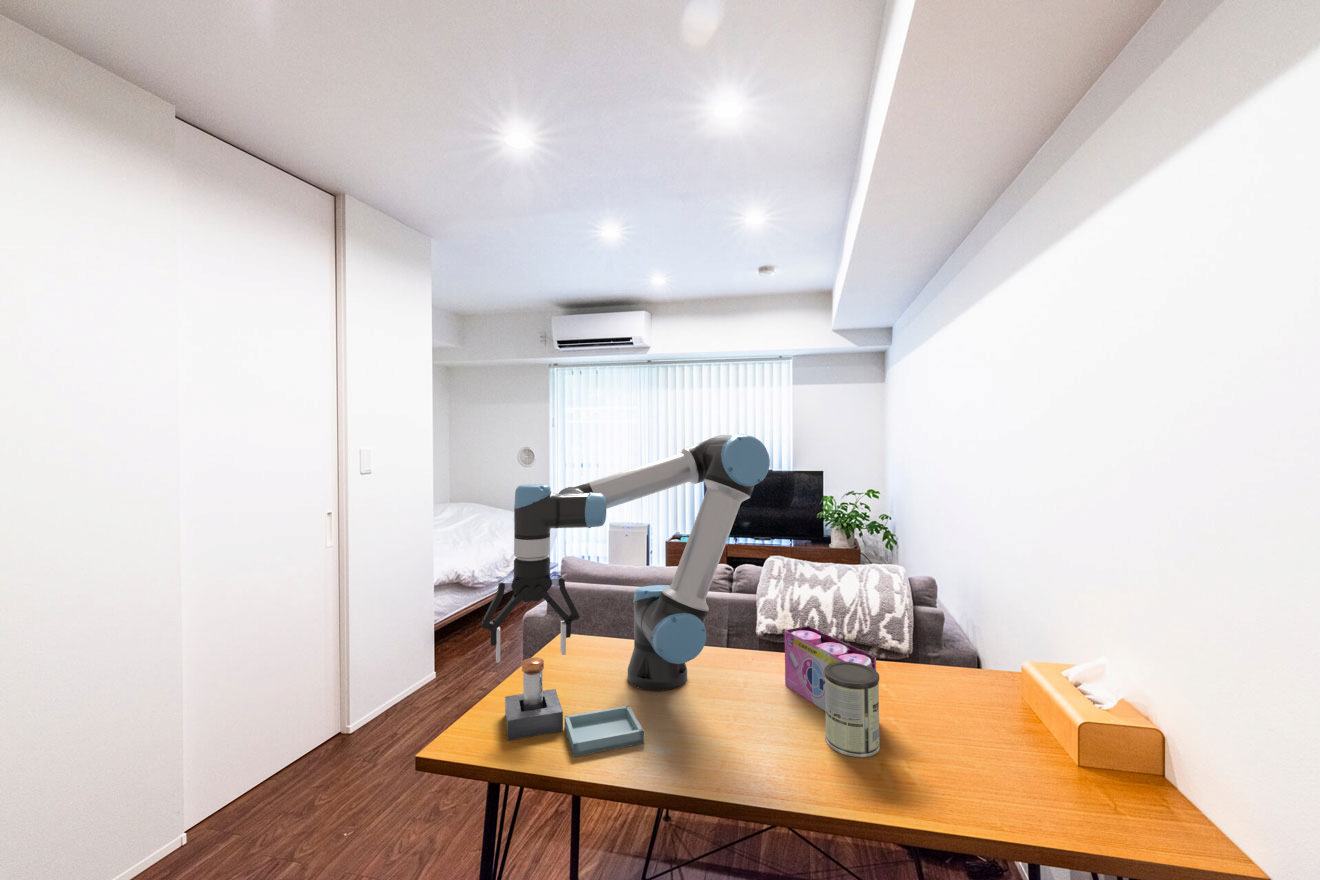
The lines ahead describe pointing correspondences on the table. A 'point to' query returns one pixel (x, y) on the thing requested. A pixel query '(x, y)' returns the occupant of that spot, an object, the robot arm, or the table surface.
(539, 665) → the pin
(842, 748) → the coffee can
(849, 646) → the gum box
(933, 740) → the table surface
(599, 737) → the tray
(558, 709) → the block
